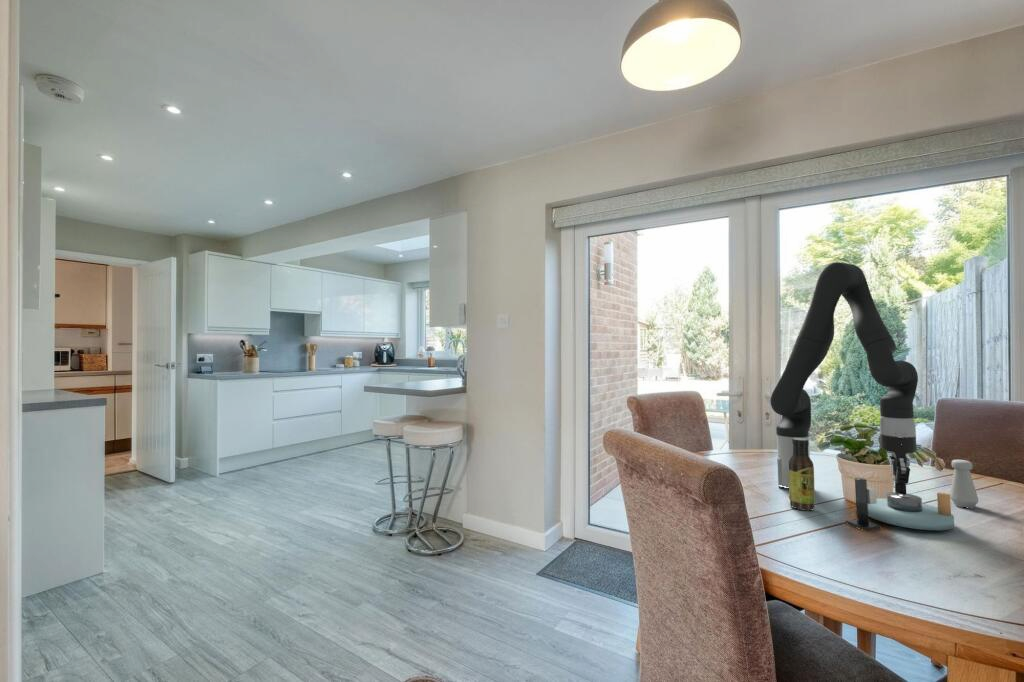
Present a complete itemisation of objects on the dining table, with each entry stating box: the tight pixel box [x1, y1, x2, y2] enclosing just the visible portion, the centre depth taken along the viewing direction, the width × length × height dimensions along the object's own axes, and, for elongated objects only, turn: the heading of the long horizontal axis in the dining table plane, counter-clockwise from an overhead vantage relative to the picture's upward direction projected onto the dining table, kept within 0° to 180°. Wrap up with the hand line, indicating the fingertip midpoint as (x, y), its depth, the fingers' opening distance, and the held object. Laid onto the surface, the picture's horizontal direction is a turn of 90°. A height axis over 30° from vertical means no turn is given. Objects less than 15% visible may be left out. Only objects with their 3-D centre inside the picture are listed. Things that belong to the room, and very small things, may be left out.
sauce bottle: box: [788, 438, 816, 511], centre depth 131 cm, size 6×6×20 cm
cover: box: [886, 491, 923, 512], centre depth 120 cm, size 7×7×3 cm
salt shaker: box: [949, 459, 979, 509], centre depth 129 cm, size 6×6×13 cm
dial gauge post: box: [845, 477, 882, 531], centre depth 116 cm, size 6×5×12 cm
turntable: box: [868, 492, 955, 531], centre depth 119 cm, size 18×18×7 cm
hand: (900, 496), depth 124 cm, fingers closed
